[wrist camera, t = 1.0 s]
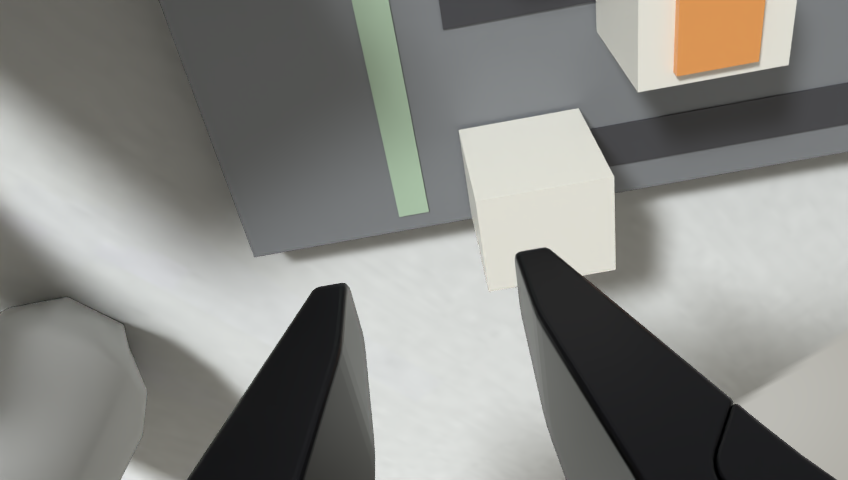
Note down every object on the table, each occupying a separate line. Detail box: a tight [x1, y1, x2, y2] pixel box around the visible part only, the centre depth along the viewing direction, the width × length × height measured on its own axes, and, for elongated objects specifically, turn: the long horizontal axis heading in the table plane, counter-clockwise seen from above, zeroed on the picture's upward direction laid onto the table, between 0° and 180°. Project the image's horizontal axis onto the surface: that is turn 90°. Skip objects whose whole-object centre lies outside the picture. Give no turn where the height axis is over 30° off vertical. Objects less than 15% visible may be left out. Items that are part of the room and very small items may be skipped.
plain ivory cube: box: [459, 108, 616, 292], centre depth 19 cm, size 3×3×3 cm
